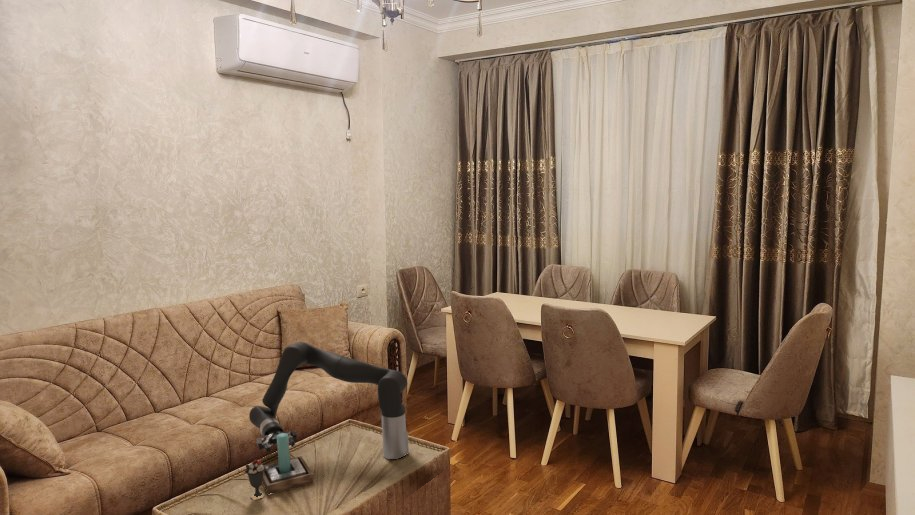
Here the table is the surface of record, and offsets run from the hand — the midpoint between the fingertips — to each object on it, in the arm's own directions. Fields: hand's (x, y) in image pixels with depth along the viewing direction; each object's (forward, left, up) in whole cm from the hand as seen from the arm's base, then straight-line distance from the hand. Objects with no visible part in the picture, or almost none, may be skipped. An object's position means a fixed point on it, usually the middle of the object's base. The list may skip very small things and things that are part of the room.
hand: (281, 447), depth 231 cm
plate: (0, +3, -11) cm, 12 cm away
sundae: (+11, +10, -11) cm, 19 cm away
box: (0, +3, -11) cm, 12 cm away
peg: (0, +3, -10) cm, 11 cm away
